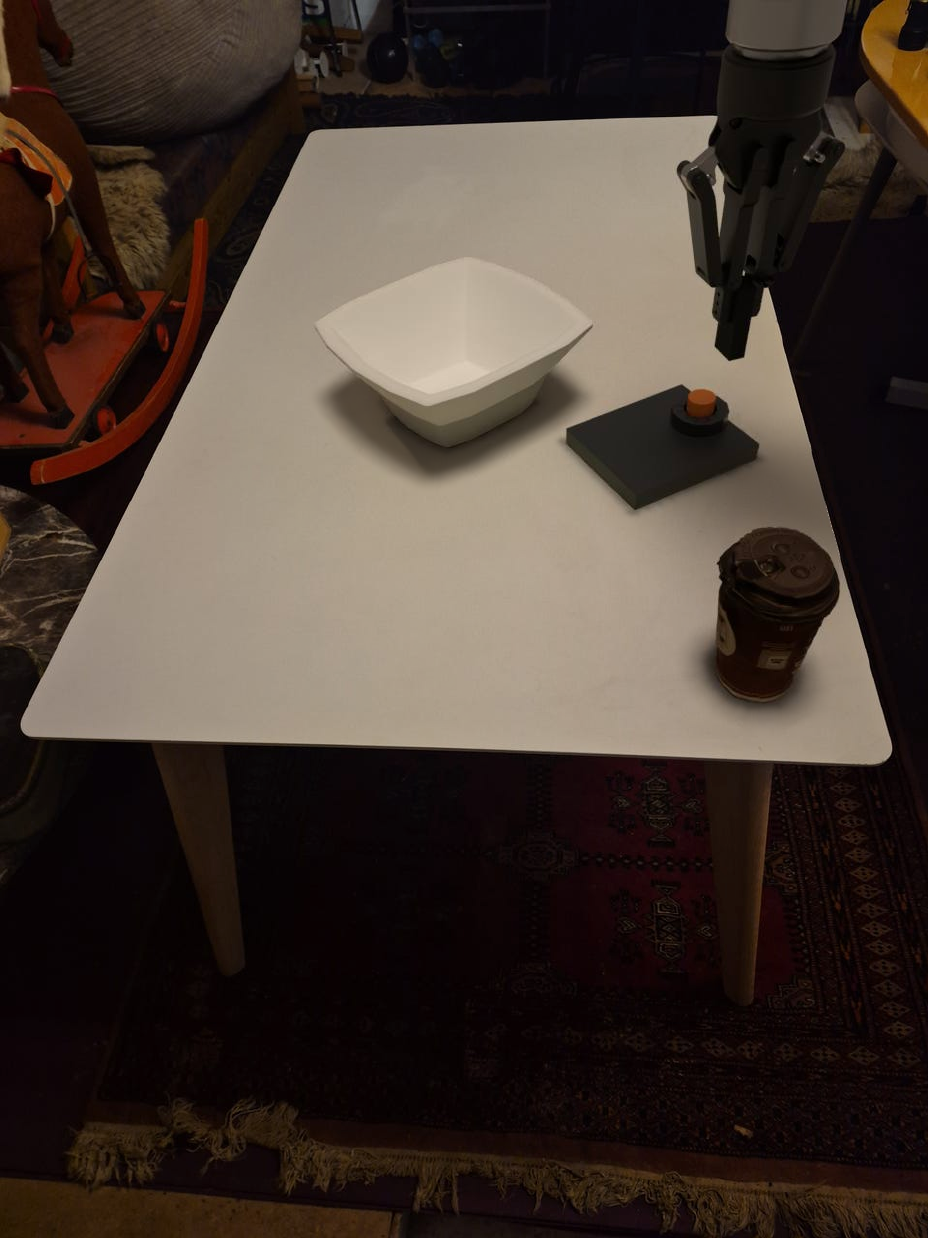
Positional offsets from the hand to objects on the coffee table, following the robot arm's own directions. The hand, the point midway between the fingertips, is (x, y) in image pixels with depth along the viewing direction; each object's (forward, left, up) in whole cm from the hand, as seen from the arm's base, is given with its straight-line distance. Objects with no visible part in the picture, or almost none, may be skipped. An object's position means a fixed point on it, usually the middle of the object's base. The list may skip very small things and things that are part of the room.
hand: (729, 351), depth 76 cm
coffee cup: (-25, +2, -15) cm, 29 cm away
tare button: (+7, 0, -11) cm, 13 cm away
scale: (+5, +4, -14) cm, 16 cm away
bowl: (+17, +25, -15) cm, 34 cm away
